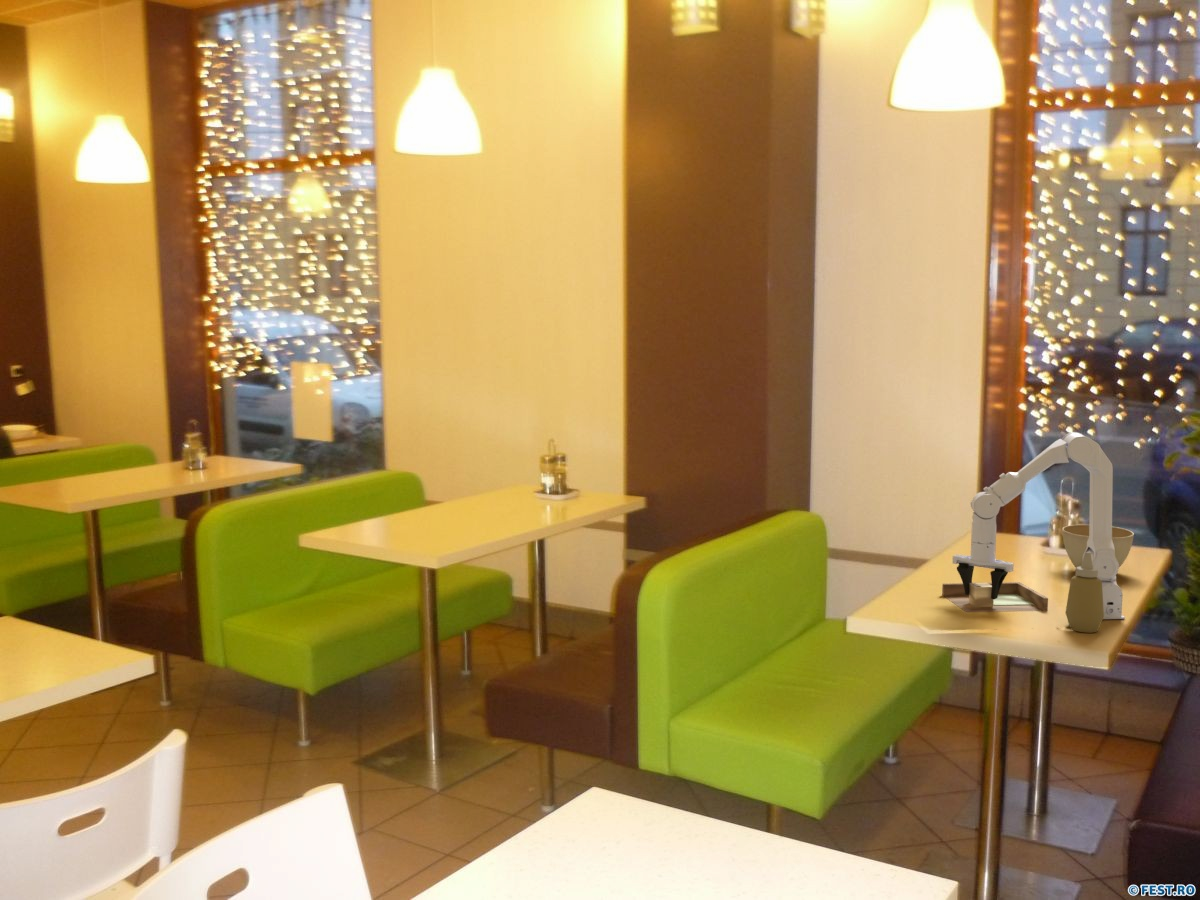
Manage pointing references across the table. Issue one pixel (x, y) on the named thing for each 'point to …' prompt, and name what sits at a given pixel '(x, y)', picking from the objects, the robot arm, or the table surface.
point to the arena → (999, 598)
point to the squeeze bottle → (1085, 598)
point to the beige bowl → (1078, 538)
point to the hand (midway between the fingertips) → (981, 596)
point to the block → (980, 595)
